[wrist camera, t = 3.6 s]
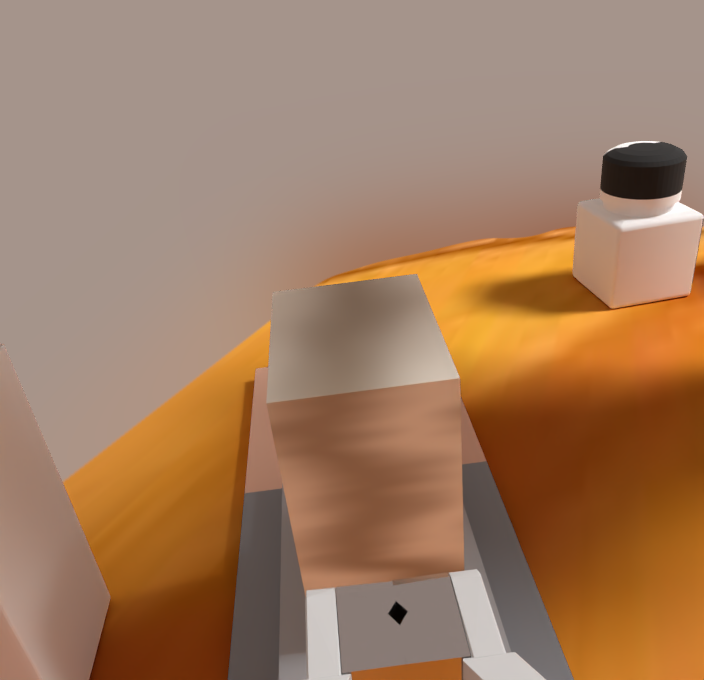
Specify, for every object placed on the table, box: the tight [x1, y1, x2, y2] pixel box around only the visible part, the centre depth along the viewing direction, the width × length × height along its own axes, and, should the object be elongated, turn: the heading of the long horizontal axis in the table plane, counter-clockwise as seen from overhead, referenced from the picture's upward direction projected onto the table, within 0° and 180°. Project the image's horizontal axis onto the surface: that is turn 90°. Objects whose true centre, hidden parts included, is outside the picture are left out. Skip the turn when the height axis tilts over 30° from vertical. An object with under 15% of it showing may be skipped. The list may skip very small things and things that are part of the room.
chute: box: [228, 367, 574, 680], centre depth 37 cm, size 14×27×3 cm, turn 5°
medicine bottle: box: [573, 141, 704, 309], centre depth 54 cm, size 7×7×12 cm
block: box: [266, 274, 464, 596], centre depth 27 cm, size 6×8×14 cm
